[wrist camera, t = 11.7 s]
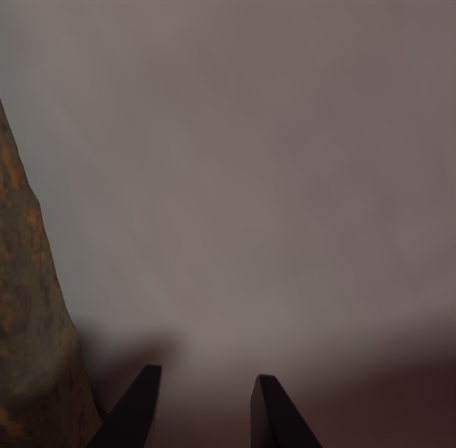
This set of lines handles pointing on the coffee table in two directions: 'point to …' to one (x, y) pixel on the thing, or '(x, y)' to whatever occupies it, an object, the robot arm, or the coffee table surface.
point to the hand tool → (36, 327)
